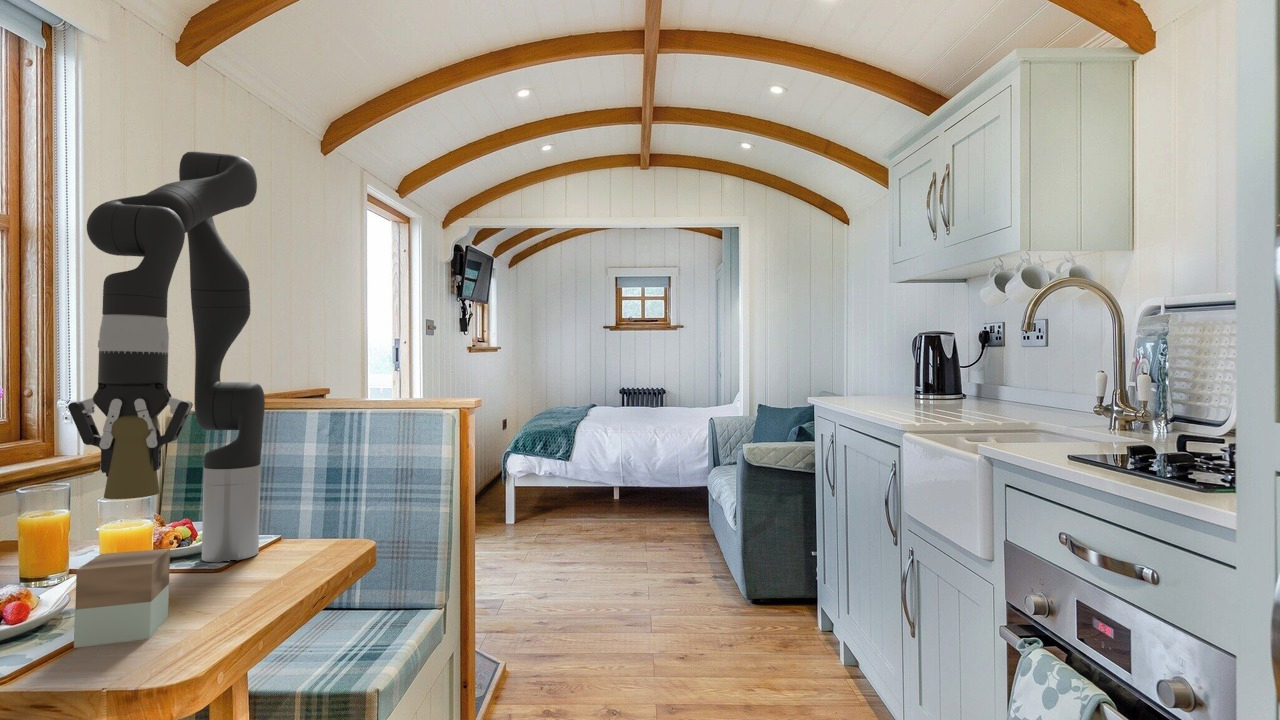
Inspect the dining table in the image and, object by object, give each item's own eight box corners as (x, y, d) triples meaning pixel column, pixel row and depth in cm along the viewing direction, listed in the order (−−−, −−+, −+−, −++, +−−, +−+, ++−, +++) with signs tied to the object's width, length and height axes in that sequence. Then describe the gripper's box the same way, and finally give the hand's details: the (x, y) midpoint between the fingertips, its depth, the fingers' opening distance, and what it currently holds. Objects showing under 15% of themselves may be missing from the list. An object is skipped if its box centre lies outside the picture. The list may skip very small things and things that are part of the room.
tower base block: (98, 626, 90) (99, 590, 90) (167, 618, 93) (168, 583, 93) (73, 649, 82) (74, 609, 82) (149, 640, 85) (150, 601, 85)
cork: (128, 500, 85) (131, 416, 85) (91, 498, 86) (93, 415, 86) (170, 492, 90) (172, 413, 91) (135, 490, 92) (137, 412, 92)
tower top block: (100, 589, 90) (101, 553, 90) (169, 583, 93) (170, 548, 93) (75, 609, 82) (76, 569, 83) (151, 601, 85) (152, 563, 86)
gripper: (202, 351, 95) (199, 469, 94) (80, 349, 89) (77, 474, 89) (189, 350, 88) (185, 476, 87) (56, 347, 82) (52, 482, 82)
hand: (130, 474), depth 88 cm, fingers closed on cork, 3 cm apart
